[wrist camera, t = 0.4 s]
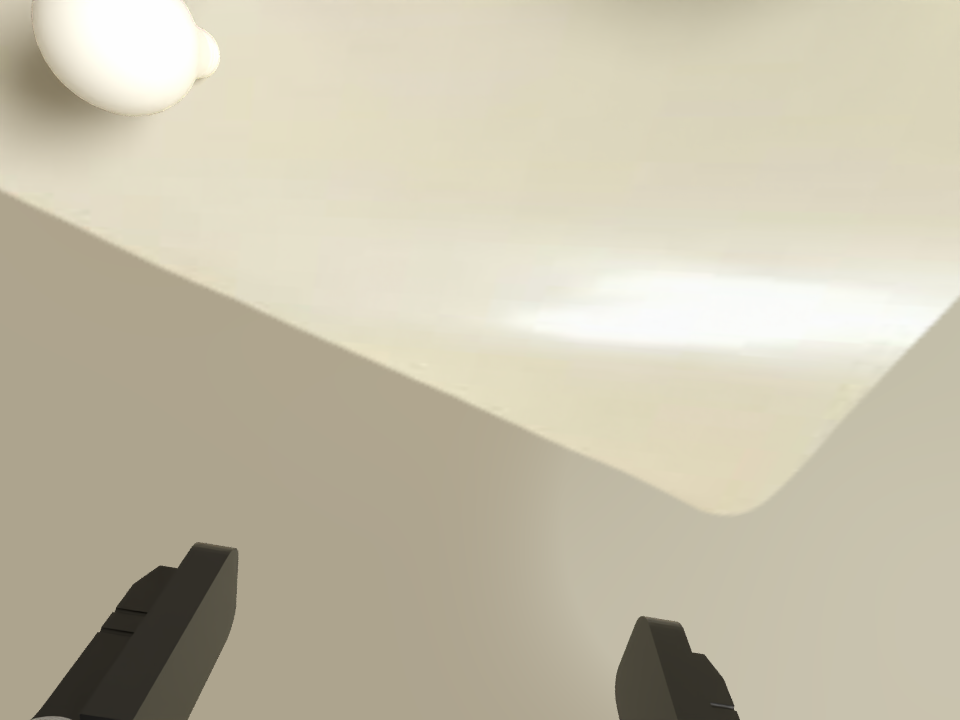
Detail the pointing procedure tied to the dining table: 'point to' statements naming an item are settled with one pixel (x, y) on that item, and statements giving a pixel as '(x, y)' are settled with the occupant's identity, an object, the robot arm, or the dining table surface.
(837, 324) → the dining table surface
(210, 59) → the lightbulb
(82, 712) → the robot arm
